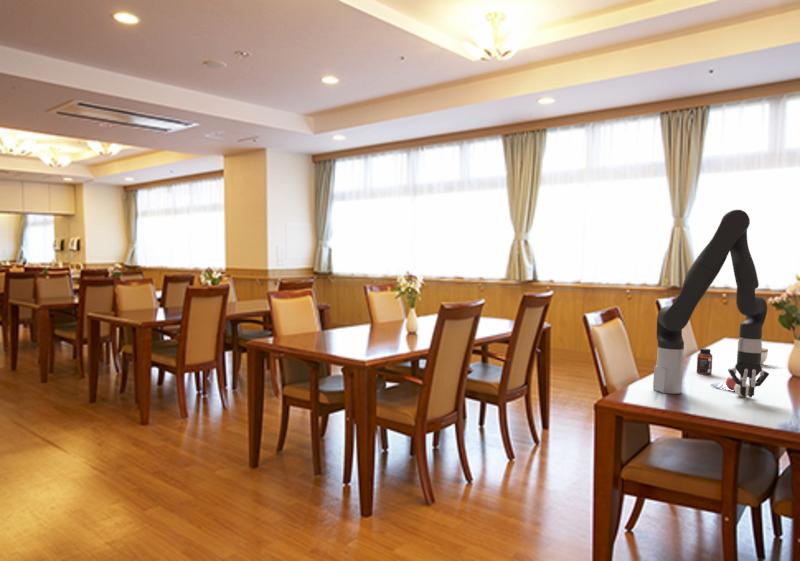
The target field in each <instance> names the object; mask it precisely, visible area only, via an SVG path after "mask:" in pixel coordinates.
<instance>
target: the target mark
mask: <svg viewBox="0 0 800 561" xmlns="http://www.w3.org/2000/svg"><path fill="white" fill-rule="evenodd" d="M720 383H721V382H713V383H710V386H711V387H712V386H713V387H712V388H714V387H715V388H714V389H717V388H718V389H717V390H721V389H720V388H722V387H723V384H722V385H721V386H720V387H717V386H718V384H720ZM724 388H726V387H724ZM724 388H722V389H724ZM725 390H726V389H725ZM725 390H724V391H725ZM727 392H731V391H730V390H728V391H727Z"/></svg>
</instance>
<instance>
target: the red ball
mask: <svg viewBox="0 0 800 561" xmlns="http://www.w3.org/2000/svg"><path fill="white" fill-rule="evenodd" d="M737 378H738V380H739V381H740V377H738V376H737ZM725 383H726V385H727V387H728V388H729V389H731V390H734V387H735V385H736V383H735V382H734V380H733V378H732V377H731V376H729V377H728V378H726V381H725Z"/></svg>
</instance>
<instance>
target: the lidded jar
mask: <svg viewBox="0 0 800 561" xmlns="http://www.w3.org/2000/svg"><path fill="white" fill-rule="evenodd" d="M768 351H769V349H767V348H765V347H762V353H761V365H762V364H764V363H765V361H766V360H767V358H768Z"/></svg>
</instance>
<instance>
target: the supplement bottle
mask: <svg viewBox="0 0 800 561" xmlns="http://www.w3.org/2000/svg"><path fill="white" fill-rule="evenodd" d="M712 370H713V354H712V353H711V349H710V348H706V347H705V348H704V347H703V348H700V350H699V352H698V353H697V358H696V373H697V374H699V373H700V374H699V375H704V374H705V376H706V375H712Z"/></svg>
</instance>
